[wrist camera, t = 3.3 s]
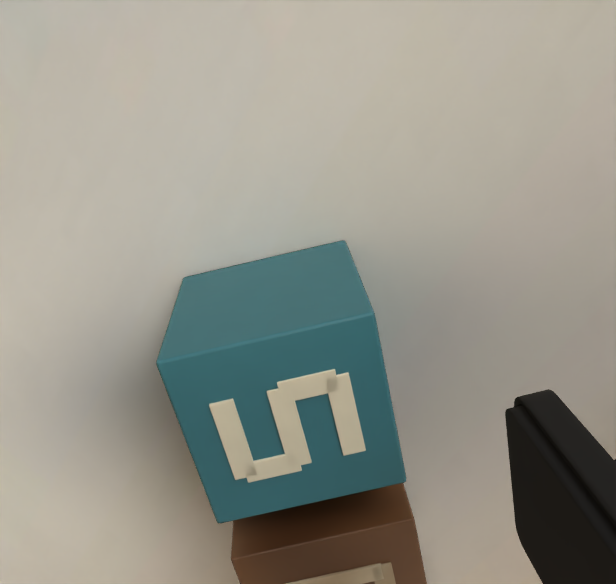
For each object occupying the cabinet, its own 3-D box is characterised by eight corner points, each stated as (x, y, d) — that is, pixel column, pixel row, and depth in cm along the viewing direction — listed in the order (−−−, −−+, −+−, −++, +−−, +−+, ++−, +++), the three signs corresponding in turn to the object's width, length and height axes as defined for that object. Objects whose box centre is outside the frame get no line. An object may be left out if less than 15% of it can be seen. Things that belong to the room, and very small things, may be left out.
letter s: (345, 238, 15) (375, 313, 11) (373, 377, 17) (408, 485, 13) (182, 276, 15) (154, 364, 11) (227, 410, 17) (216, 527, 13)
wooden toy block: (379, 408, 18) (414, 520, 13) (401, 514, 19) (438, 643, 15) (237, 440, 18) (230, 561, 14) (272, 543, 19) (275, 678, 15)
